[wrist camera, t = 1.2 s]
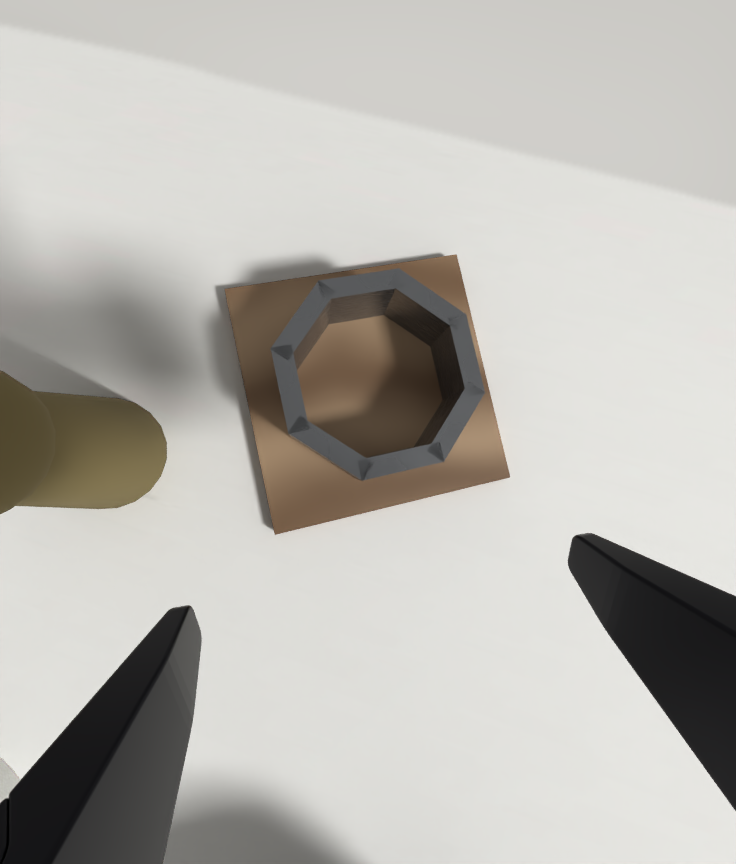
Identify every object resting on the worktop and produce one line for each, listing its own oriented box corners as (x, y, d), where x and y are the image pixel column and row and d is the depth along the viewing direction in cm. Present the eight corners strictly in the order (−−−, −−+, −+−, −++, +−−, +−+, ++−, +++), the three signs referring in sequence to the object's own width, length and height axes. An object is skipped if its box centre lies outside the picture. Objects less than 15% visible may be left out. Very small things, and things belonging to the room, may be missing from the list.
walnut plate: (503, 476, 24) (510, 477, 23) (276, 532, 22) (274, 534, 21) (451, 261, 25) (456, 254, 24) (227, 295, 23) (224, 288, 22)
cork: (80, 530, 21) (-184, 602, 10) (26, 431, 21) (-297, 392, 10) (187, 473, 22) (55, 482, 11) (134, 378, 22) (-50, 291, 11)
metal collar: (471, 451, 23) (499, 449, 19) (303, 490, 21) (300, 495, 18) (433, 290, 23) (453, 259, 20) (267, 316, 22) (257, 289, 19)
